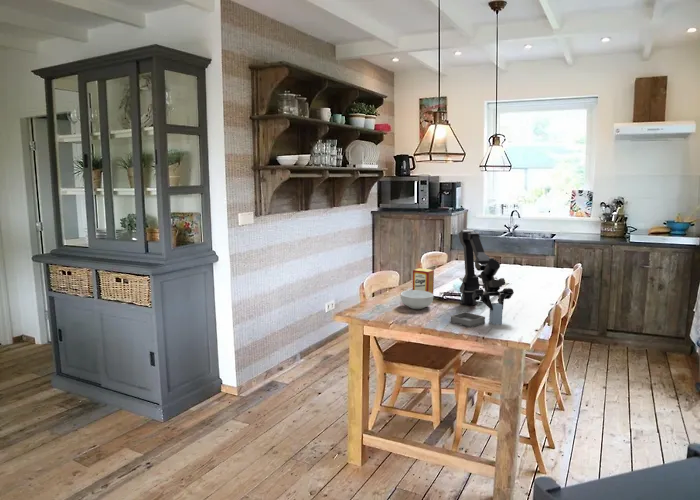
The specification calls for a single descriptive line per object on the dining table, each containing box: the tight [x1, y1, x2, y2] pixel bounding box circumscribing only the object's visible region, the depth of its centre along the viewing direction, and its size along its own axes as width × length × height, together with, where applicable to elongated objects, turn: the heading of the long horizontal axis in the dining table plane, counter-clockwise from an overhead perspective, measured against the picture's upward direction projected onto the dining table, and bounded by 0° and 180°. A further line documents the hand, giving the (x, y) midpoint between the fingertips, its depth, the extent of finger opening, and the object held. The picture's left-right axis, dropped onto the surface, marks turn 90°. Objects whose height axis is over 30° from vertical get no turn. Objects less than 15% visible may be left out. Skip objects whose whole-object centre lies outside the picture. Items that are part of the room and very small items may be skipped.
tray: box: [449, 311, 486, 328], centre depth 246 cm, size 11×11×3 cm
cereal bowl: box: [400, 289, 434, 310], centre depth 273 cm, size 17×17×7 cm
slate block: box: [488, 302, 504, 325], centre depth 245 cm, size 4×4×9 cm
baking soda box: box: [412, 267, 435, 295], centre depth 291 cm, size 10×6×16 cm
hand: (497, 309), depth 243 cm, fingers closed on slate block, 4 cm apart
